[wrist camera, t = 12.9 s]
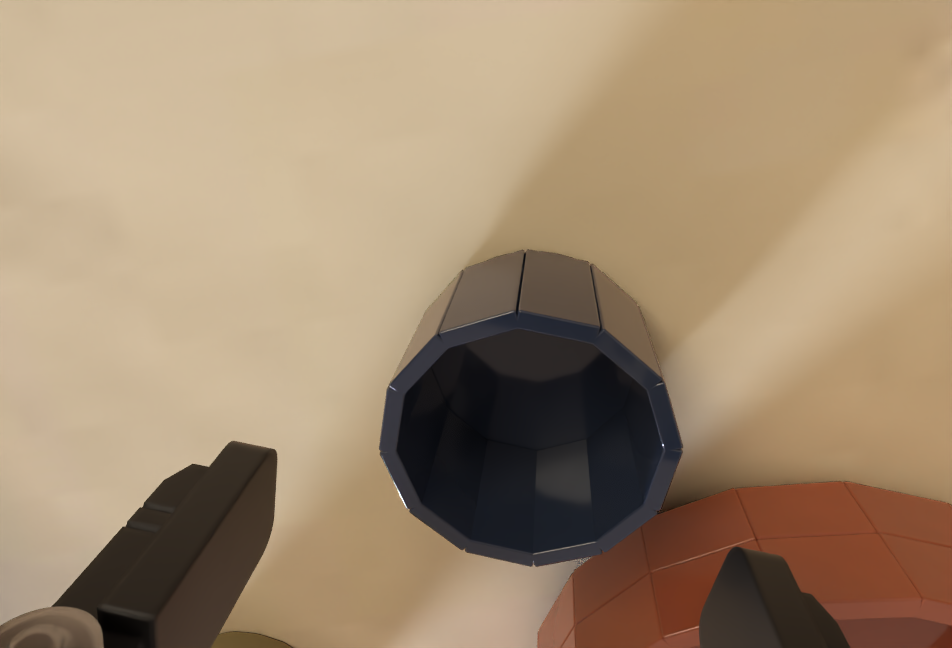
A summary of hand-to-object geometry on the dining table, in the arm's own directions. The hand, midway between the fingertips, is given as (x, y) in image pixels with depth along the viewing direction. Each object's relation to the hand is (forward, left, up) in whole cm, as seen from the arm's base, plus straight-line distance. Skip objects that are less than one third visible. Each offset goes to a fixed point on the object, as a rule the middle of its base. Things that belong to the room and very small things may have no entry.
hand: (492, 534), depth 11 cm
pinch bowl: (0, 0, -7) cm, 7 cm away
